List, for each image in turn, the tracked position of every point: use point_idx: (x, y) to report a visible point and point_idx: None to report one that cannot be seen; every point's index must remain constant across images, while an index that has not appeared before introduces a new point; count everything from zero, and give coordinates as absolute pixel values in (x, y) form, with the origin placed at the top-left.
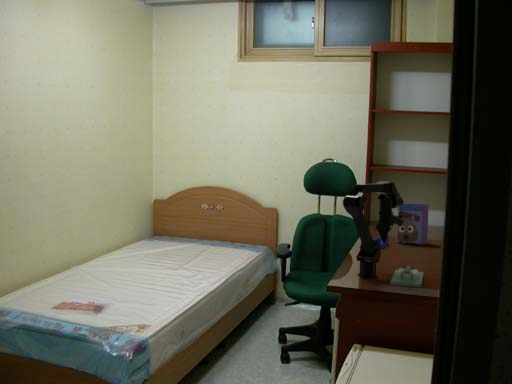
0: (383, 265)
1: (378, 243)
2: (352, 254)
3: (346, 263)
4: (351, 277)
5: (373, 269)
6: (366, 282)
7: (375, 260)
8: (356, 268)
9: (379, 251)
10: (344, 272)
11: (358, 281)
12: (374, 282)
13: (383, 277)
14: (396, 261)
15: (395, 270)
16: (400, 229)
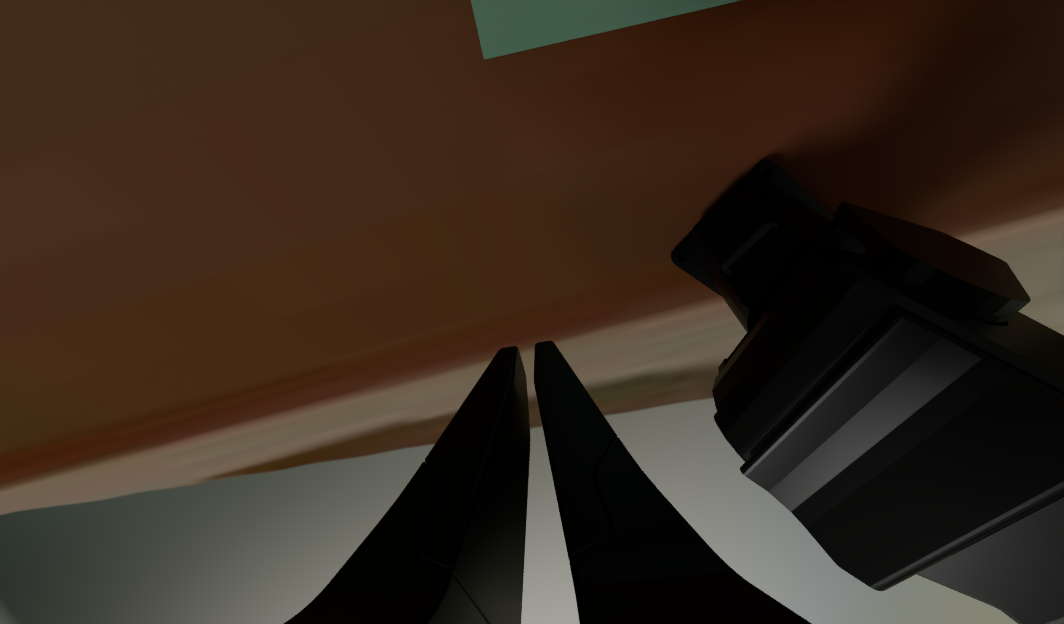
0: (281, 255)
1: (1038, 385)
2: (164, 485)
3: (430, 441)
4: None
5: (816, 215)
6: (1013, 172)
7: (929, 235)
8: (533, 366)
9: (953, 269)
10: (692, 381)
11: (973, 235)
12: (1014, 109)
13: (775, 100)
14: (2, 213)
15: (521, 50)
16: None
